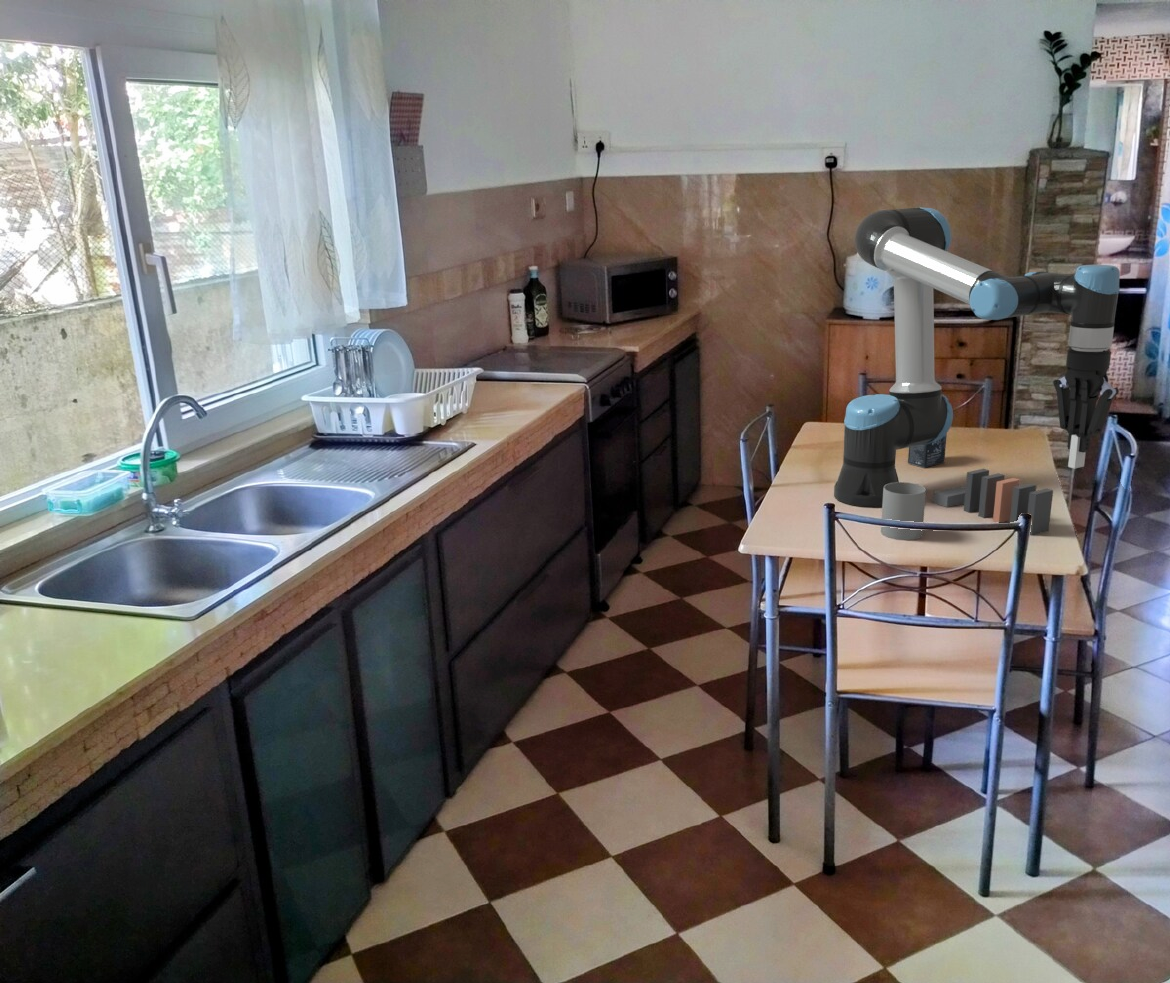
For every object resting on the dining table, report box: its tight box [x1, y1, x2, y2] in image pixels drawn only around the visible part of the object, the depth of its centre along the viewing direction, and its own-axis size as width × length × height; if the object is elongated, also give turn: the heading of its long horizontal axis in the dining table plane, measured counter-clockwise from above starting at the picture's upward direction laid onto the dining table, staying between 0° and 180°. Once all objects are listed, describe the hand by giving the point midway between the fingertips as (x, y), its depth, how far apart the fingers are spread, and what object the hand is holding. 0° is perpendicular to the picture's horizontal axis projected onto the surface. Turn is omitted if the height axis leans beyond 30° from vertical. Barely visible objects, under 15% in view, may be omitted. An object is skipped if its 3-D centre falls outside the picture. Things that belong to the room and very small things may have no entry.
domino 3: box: [992, 477, 1021, 523], centre depth 217 cm, size 5×2×9 cm, turn 116°
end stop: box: [933, 485, 966, 508], centre depth 230 cm, size 8×4×2 cm, turn 116°
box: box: [907, 433, 948, 469], centre depth 258 cm, size 8×6×11 cm
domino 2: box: [977, 472, 1005, 519], centre depth 220 cm, size 5×2×9 cm, turn 116°
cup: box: [880, 481, 927, 541], centre depth 211 cm, size 8×8×10 cm
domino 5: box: [1028, 488, 1054, 536], centre depth 209 cm, size 5×2×9 cm, turn 116°
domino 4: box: [1009, 482, 1037, 523], centre depth 213 cm, size 5×2×9 cm, turn 116°
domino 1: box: [963, 468, 990, 513], centre depth 224 cm, size 5×2×9 cm, turn 116°
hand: (1076, 466), depth 199 cm, fingers closed
